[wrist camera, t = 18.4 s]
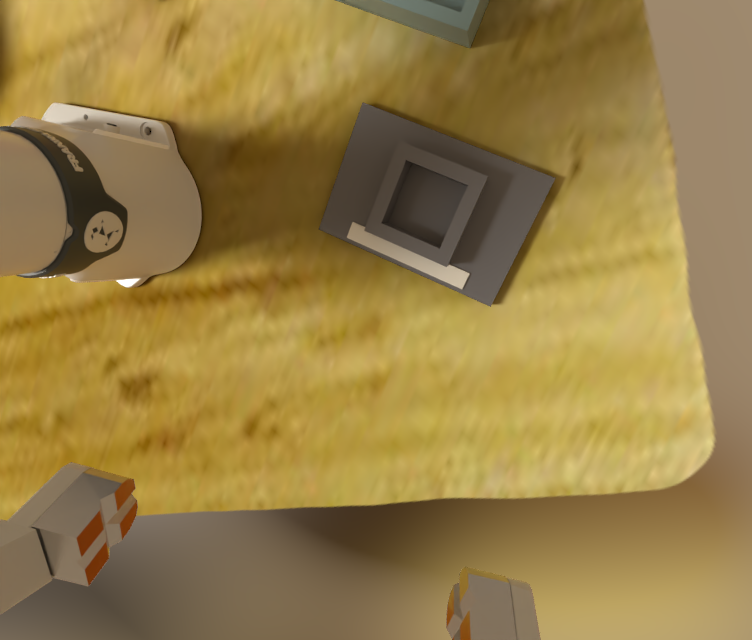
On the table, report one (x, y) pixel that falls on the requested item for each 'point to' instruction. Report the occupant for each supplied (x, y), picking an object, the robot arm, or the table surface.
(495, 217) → the board
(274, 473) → the table surface
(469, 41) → the tray
